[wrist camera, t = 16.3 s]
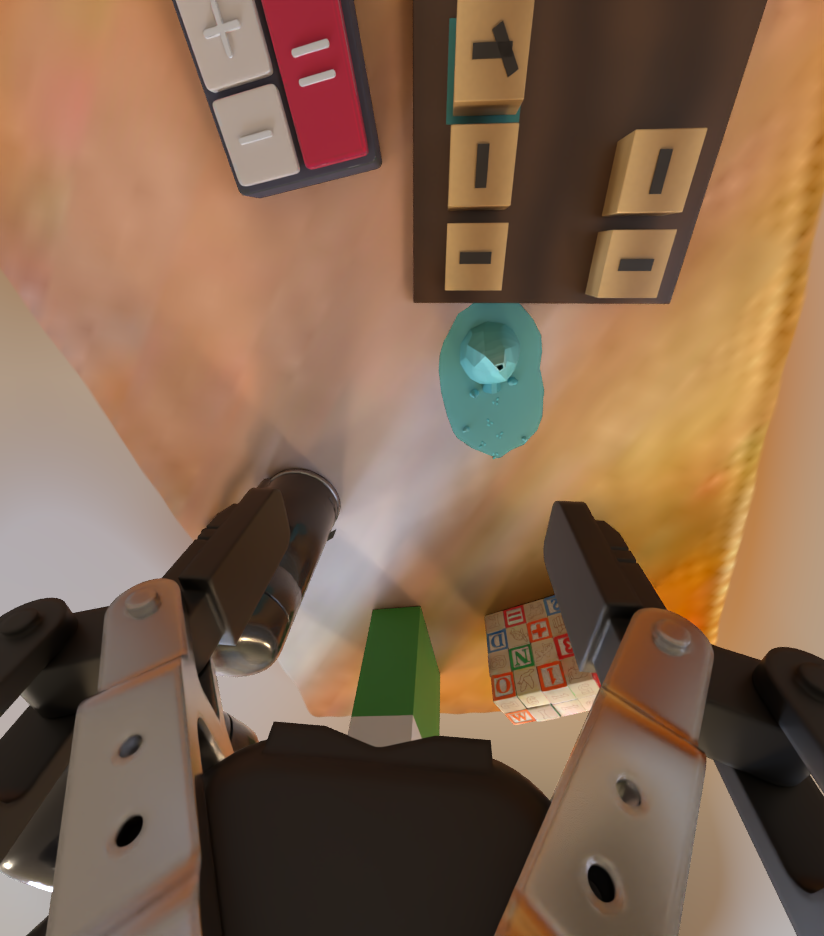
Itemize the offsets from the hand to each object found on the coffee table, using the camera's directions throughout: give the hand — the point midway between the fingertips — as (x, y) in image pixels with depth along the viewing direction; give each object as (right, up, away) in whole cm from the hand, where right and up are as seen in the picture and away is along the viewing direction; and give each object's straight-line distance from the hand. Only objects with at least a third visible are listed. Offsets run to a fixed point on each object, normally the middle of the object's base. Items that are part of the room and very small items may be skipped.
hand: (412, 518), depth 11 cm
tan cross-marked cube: (+5, +29, +14) cm, 32 cm away
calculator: (-9, +31, +15) cm, 36 cm away
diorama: (+8, +10, +27) cm, 30 cm away
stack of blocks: (+21, -18, +42) cm, 50 cm away
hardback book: (-1, -27, +49) cm, 56 cm away
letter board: (+11, +25, +17) cm, 32 cm away
